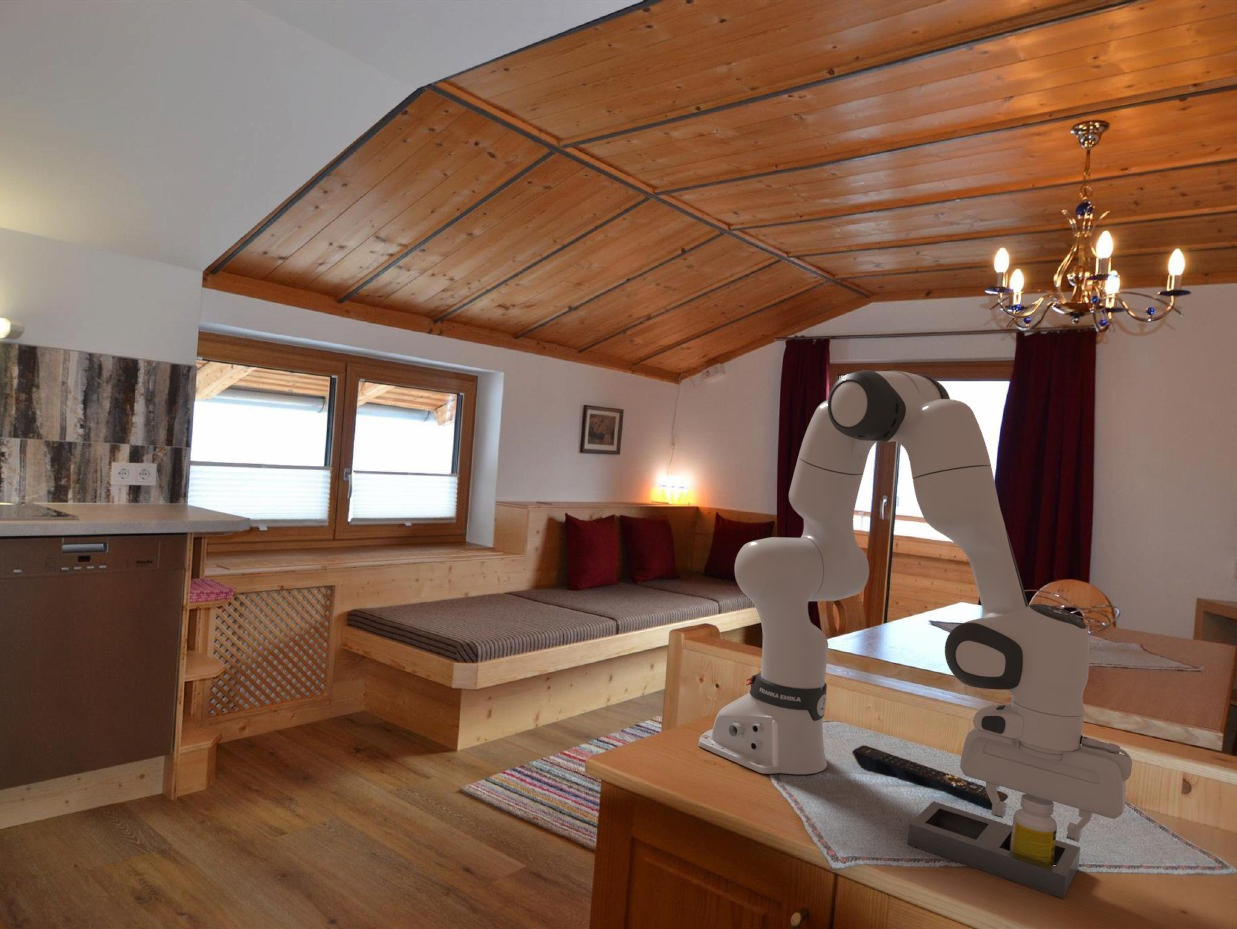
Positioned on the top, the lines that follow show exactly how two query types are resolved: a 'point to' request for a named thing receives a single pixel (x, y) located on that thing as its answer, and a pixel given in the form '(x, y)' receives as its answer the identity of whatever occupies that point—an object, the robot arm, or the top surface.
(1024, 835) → the supplement bottle
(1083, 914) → the top surface
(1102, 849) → the top surface
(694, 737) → the top surface
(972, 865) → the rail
